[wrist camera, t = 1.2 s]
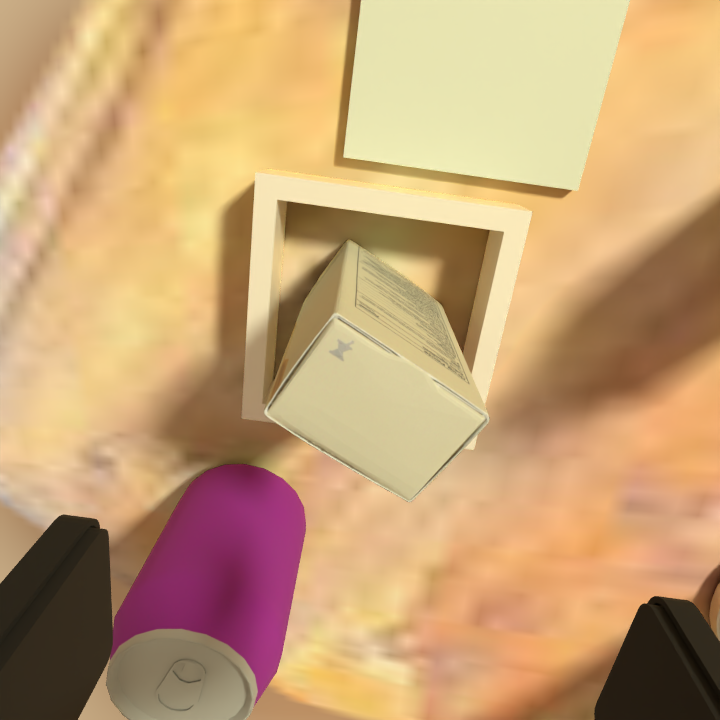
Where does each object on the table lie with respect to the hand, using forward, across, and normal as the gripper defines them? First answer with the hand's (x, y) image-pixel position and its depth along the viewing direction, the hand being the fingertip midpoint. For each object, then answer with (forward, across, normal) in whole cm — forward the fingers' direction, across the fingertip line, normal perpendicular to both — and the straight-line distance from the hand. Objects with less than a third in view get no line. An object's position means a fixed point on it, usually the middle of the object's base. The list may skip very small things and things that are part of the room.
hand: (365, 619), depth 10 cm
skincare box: (+20, 0, 0) cm, 21 cm away
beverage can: (+20, +6, +14) cm, 26 cm away
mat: (+20, -3, -13) cm, 24 cm away
